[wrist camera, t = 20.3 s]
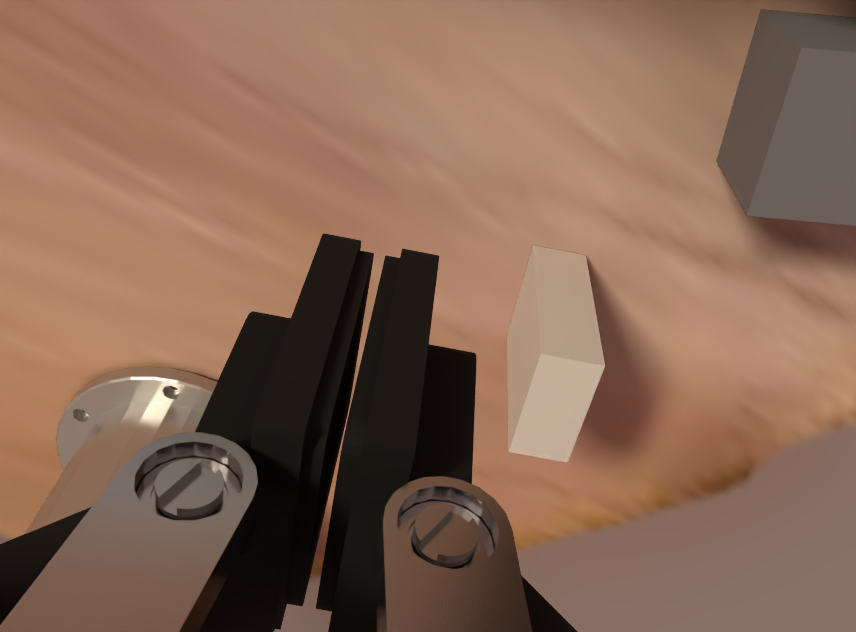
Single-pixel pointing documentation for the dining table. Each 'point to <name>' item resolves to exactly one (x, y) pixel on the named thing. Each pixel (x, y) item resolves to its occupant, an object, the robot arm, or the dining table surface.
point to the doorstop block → (795, 120)
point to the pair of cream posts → (552, 355)
